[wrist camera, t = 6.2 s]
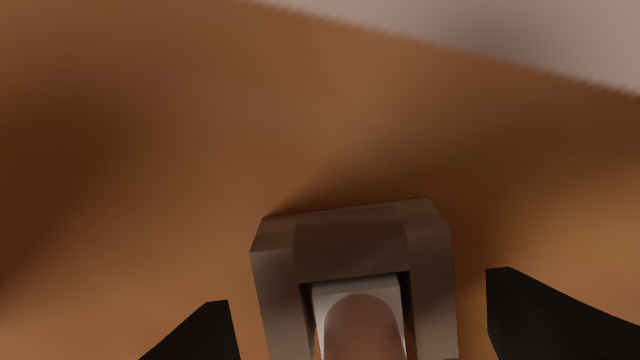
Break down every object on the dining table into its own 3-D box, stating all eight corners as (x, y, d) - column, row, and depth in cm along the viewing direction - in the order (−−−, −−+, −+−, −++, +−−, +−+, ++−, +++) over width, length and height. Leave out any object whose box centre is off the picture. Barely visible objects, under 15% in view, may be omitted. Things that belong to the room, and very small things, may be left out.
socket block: (436, 307, 17) (458, 358, 14) (282, 324, 17) (273, 377, 14) (428, 197, 15) (451, 228, 13) (262, 217, 16) (248, 252, 13)
